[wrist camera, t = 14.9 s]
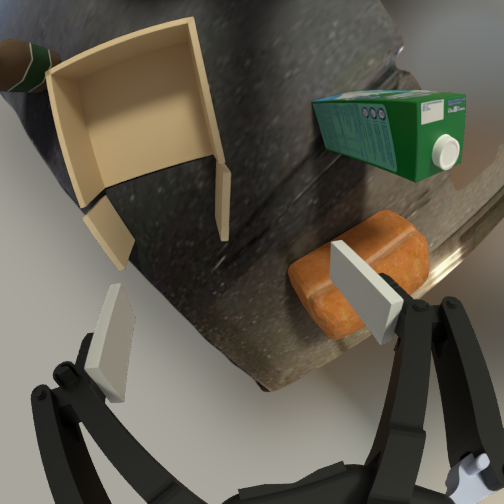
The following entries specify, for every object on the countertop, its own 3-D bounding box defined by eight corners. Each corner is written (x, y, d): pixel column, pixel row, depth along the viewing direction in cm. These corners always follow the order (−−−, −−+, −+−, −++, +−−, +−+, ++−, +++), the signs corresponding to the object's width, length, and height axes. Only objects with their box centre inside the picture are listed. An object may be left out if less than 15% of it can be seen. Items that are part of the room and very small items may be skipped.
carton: (72, 78, 30) (44, 71, 22) (192, 37, 32) (193, 16, 24) (101, 189, 40) (80, 208, 32) (217, 153, 42) (225, 162, 33)
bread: (398, 251, 60) (441, 286, 46) (304, 309, 61) (333, 360, 47) (388, 201, 53) (439, 232, 39) (280, 264, 54) (311, 316, 41)
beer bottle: (50, 42, 26) (-35, 12, 5) (71, 67, 29) (-17, 42, 9) (20, 77, 27) (-73, 74, 6) (40, 102, 30) (-57, 110, 10)
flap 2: (214, 216, 47) (221, 241, 38) (216, 161, 42) (223, 172, 34) (222, 216, 47) (230, 240, 38) (224, 161, 43) (232, 172, 34)
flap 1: (105, 195, 41) (87, 215, 32) (135, 240, 45) (124, 268, 37) (100, 198, 41) (80, 219, 32) (129, 243, 45) (118, 272, 37)
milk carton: (325, 150, 45) (429, 189, 24) (311, 101, 41) (417, 102, 19) (366, 136, 46) (474, 168, 24) (354, 90, 41) (467, 94, 19)
